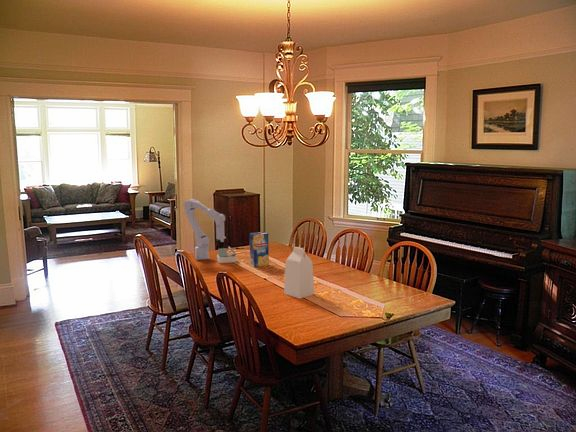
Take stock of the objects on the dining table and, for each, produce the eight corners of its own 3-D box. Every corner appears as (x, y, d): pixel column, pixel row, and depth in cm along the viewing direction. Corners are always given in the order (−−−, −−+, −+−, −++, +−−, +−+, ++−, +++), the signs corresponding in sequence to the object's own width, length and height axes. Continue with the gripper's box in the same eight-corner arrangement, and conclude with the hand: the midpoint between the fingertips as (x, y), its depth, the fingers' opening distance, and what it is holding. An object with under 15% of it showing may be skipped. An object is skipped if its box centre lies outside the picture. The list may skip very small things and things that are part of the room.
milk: (284, 293, 264) (283, 247, 260) (298, 289, 272) (298, 244, 268) (299, 298, 256) (299, 251, 252) (314, 293, 264) (314, 247, 260)
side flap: (230, 249, 333) (231, 248, 334) (228, 247, 341) (229, 246, 341) (235, 255, 335) (236, 254, 335) (233, 252, 343) (234, 251, 343)
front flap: (218, 249, 335) (218, 248, 334) (226, 248, 336) (226, 248, 335) (219, 256, 332) (219, 256, 331) (227, 256, 333) (227, 255, 333)
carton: (219, 263, 332) (218, 257, 332) (217, 260, 341) (216, 254, 340) (236, 261, 336) (236, 256, 335) (233, 259, 344) (233, 253, 344)
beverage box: (268, 265, 326) (268, 233, 323) (254, 267, 321) (253, 235, 318) (264, 262, 332) (263, 231, 329) (250, 264, 327) (249, 233, 324)
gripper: (227, 232, 333) (228, 251, 335) (224, 229, 347) (224, 247, 349) (217, 233, 331) (218, 252, 333) (214, 229, 345) (215, 248, 347)
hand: (220, 250), depth 341 cm, fingers closed
